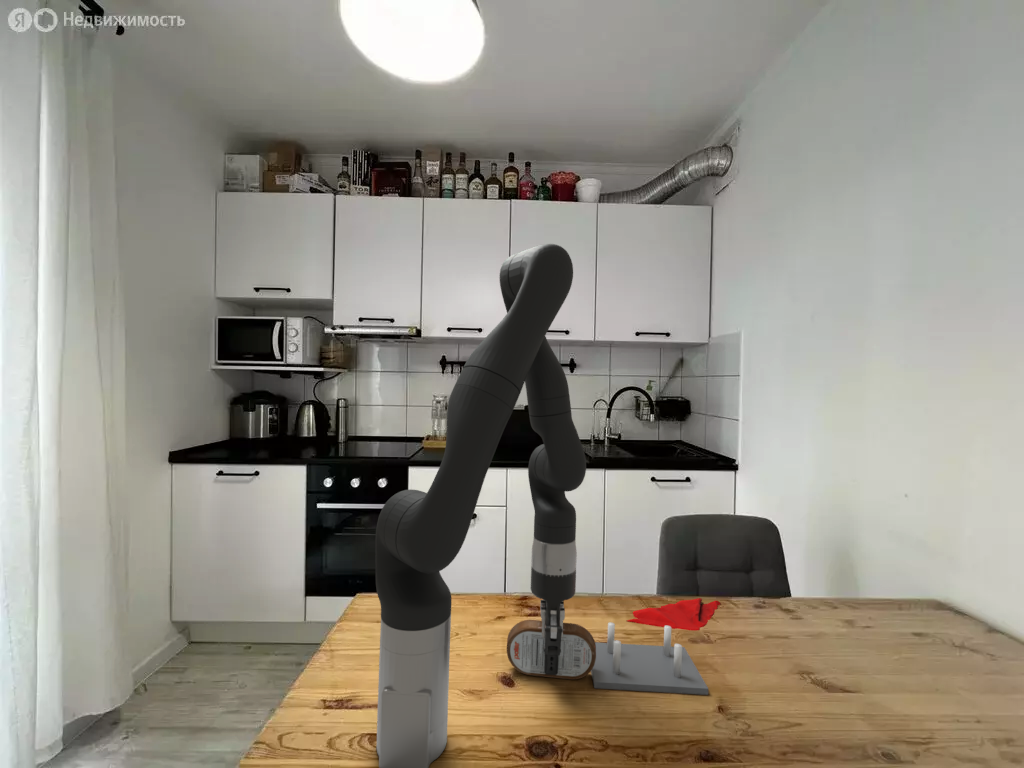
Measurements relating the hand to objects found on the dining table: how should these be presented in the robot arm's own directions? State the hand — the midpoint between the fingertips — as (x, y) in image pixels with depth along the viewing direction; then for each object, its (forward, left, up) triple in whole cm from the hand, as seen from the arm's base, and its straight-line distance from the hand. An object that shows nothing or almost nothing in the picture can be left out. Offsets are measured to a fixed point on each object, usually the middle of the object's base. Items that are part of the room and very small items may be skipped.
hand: (550, 667), depth 80 cm
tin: (0, 0, -1) cm, 1 cm away
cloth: (+24, -28, -2) cm, 37 cm away
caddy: (+3, -16, -1) cm, 16 cm away
